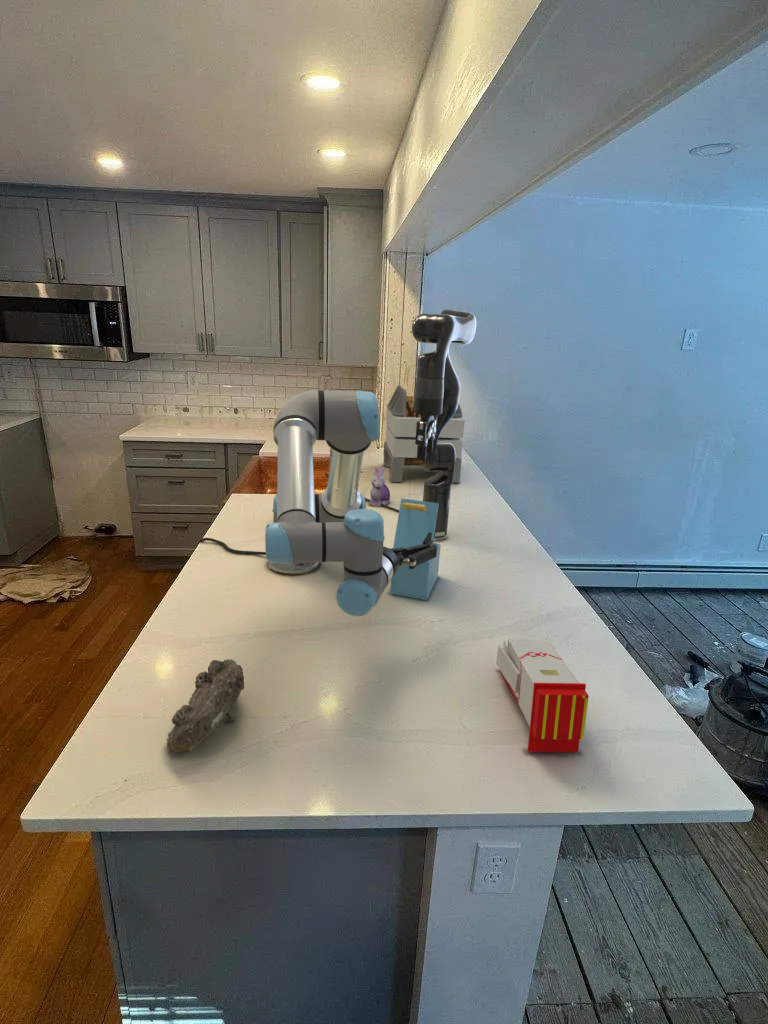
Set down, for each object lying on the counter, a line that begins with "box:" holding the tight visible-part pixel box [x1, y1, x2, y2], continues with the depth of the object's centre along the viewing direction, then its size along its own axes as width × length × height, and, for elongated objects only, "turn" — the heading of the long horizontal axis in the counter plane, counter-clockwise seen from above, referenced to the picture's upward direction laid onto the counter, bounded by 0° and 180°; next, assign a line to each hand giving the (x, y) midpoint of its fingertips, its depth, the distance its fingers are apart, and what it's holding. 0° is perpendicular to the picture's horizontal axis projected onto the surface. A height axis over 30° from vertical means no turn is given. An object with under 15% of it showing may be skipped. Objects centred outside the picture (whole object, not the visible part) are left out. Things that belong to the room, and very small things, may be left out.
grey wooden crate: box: [383, 384, 465, 484], centre depth 268 cm, size 34×33×41 cm
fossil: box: [166, 658, 245, 754], centre depth 106 cm, size 22×10×15 cm
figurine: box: [369, 465, 391, 507], centre depth 228 cm, size 9×10×15 cm
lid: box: [392, 498, 439, 563], centre depth 150 cm, size 16×10×8 cm
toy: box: [495, 638, 589, 753], centre depth 114 cm, size 12×13×30 cm
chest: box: [389, 542, 441, 601], centre depth 162 cm, size 16×10×11 cm
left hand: (402, 533), depth 139 cm, fingers open, 13 cm apart
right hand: (424, 456), depth 152 cm, fingers open, 8 cm apart
